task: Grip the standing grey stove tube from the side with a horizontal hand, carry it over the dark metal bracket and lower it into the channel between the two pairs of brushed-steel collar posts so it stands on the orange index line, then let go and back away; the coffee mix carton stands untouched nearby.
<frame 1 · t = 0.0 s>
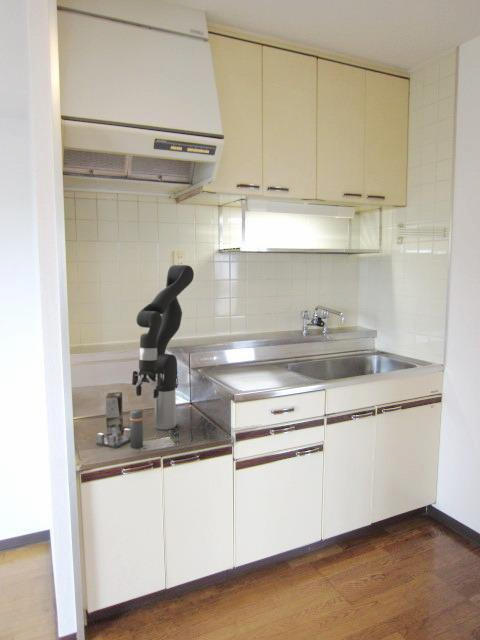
hand: (147, 396, 191), 17 cm above the countertop, tool pointing down, fingers open, 8 cm apart
bracket: (114, 442, 186), on the countertop
coffee box: (115, 431, 200), on the countertop
tube: (136, 446, 182), on the countertop
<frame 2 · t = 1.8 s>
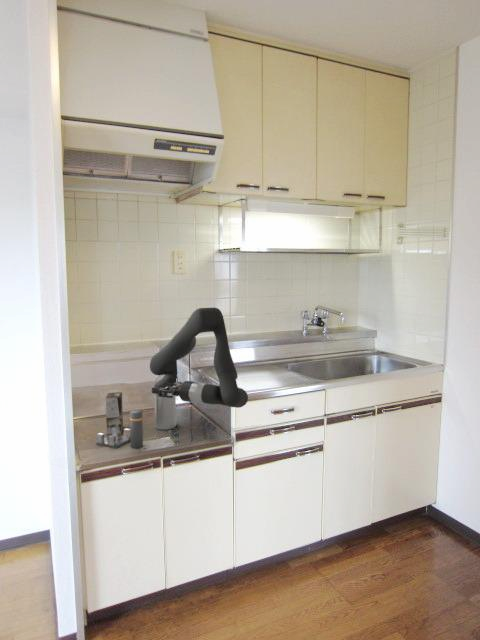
hand: (158, 387, 175), 25 cm above the countertop, tool horizontal, fingers open, 8 cm apart
nothing on the countertop moved.
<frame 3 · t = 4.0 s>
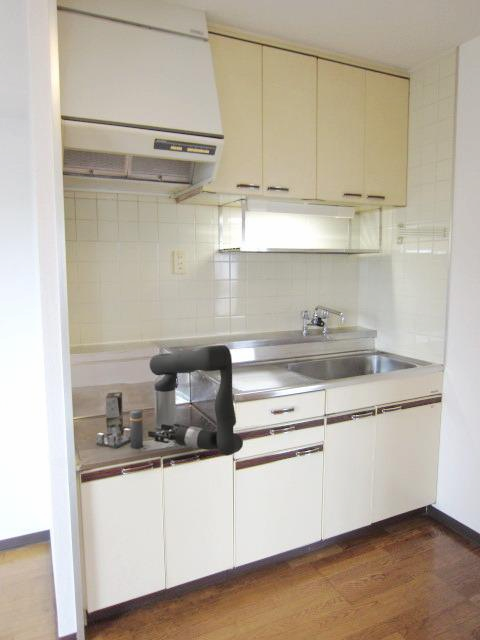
hand: (155, 430, 177), 8 cm above the countertop, tool horizontal, fingers open, 8 cm apart
nothing on the countertop moved.
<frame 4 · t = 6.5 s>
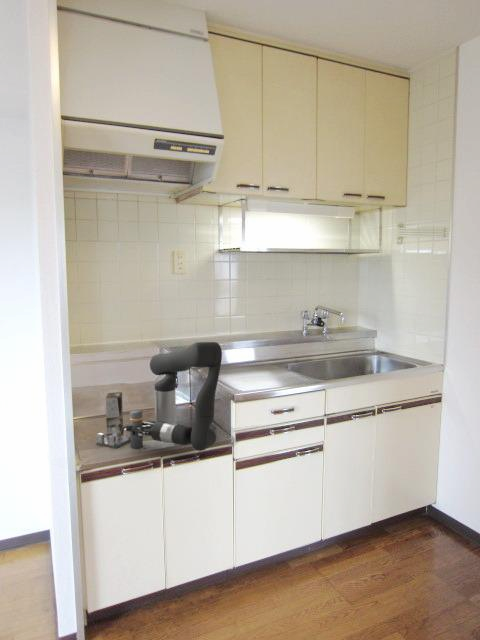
hand: (131, 425, 182), 8 cm above the countertop, tool horizontal, fingers closed on tube, 4 cm apart
tube: (136, 446, 182), on the countertop, touching gripper
everything else where it was.
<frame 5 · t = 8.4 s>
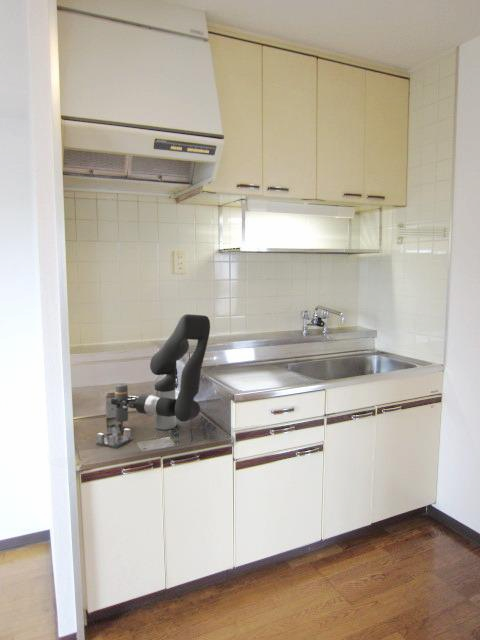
hand: (116, 399, 184), 18 cm above the countertop, tool horizontal, fingers closed on tube, 4 cm apart
tube: (122, 419, 184), point 10 cm above the countertop, touching gripper
everything else where it was.
when the fingers open (10 cm above the countertop, at t = 10.6 s): tube stays where it is, resting on bracket.
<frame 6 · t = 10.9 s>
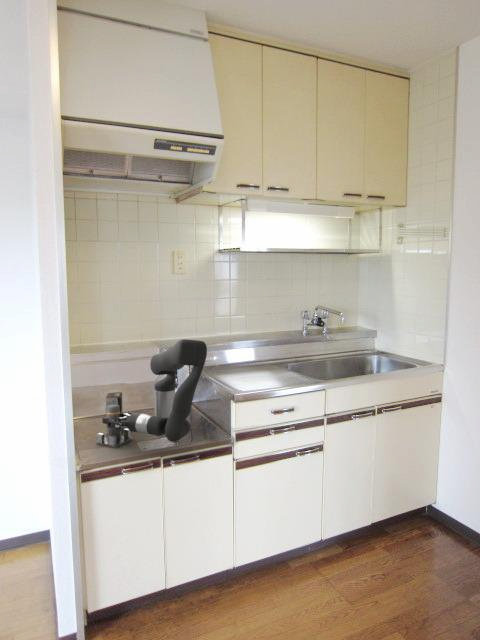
hand: (109, 417, 186), 10 cm above the countertop, tool horizontal, fingers open, 7 cm apart
tube: (114, 439, 186), point 1 cm above the countertop, touching bracket
everything else where it was.
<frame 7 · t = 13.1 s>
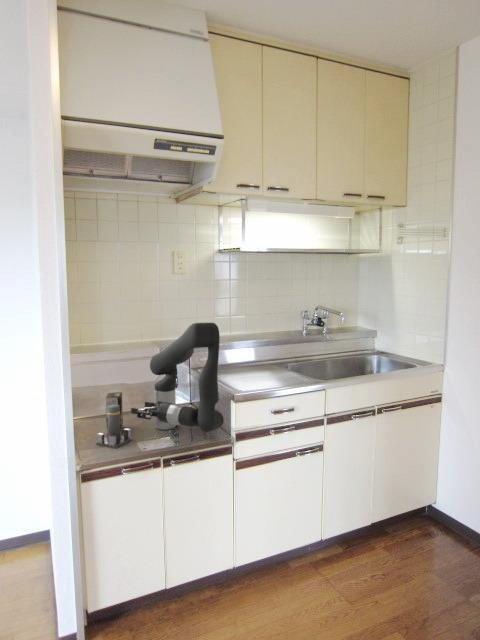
hand: (138, 407, 179), 16 cm above the countertop, tool horizontal, fingers open, 8 cm apart
nothing on the countertop moved.
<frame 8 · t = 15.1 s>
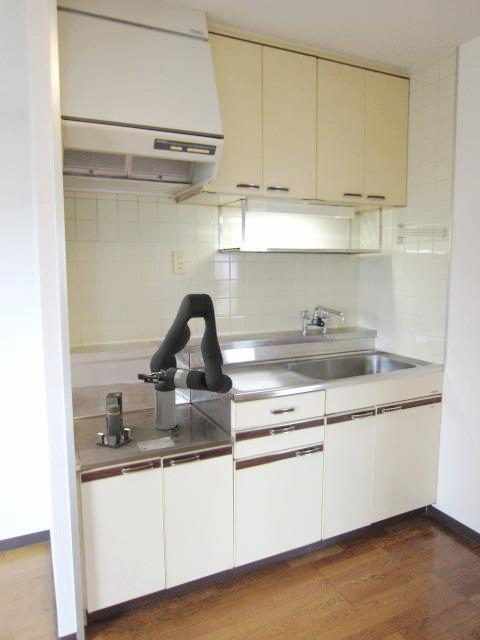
hand: (145, 374, 176), 30 cm above the countertop, tool horizontal, fingers open, 8 cm apart
nothing on the countertop moved.
at the end: tube 0.1 cm off-centre on the bracket, point 1.0 cm above the bracket's base; tube tilted 0°; the gripper is holding nothing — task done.
